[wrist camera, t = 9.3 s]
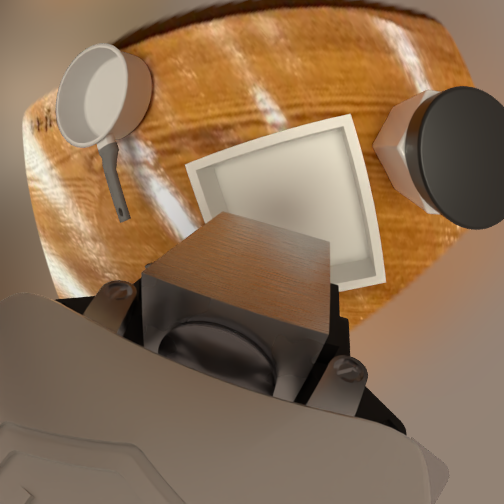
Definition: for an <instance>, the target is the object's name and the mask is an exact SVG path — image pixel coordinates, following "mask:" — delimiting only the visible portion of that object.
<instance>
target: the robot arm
mask: <svg viewBox="0 0 504 504" xmlns="http://www.w3.org/2000/svg"><path fill="white" fill-rule="evenodd" d="M367 378H368V373H367V369H366V368H365V366H364V365H363V364H362V363H361V362H360V361H359V360H357V359H355V358H353V357H350V341H349V321H348V319H347V318H343V317H340V315H339V286H338V285H336V284H332V283H330V318H329V335H328V337H327V339H326V341H325V343H324V345H323V347H322V349H321V351H320V353H319V355H318V357H317V359H316V361H315V363H314V365H313V367H312V369H311V371H310V373H309V374H308V376H307V378H306V380H305V382H304V384H303V386H302V387H301V389H300V391H299V393H298V394H297V396H296V398H295V400H294V401H293V402H292V401H288V400H284V399H281V398H277V397H274V396H271V395H267V394H264V393H261V392H257V391H254V390H251V389H248V388H245V387H242V386H239V385H236V384H233V383H230V382H228V381H225V380H222V379H219V378H216V377H214V376H211V375H208V374H206V373H203V372H201V371H198V370H195V369H193V368H190V367H188V366H186V365H183V364H181V363H178V362H176V361H174V360H171V359H169V358H167V357H164V356H162V355H160V354H158V353H155V352H153V351H151V350H149V349H147V348H145V347H144V337H143V319H142V277H141V278H140V279H139V280H138V281H137V282H135V283H134V284H131V283H129V282H126V281H120V280H117V281H111V282H108V283H106V284H104V285H103V286H102V287H101V289H100V290H99V292H98V293H97V294H96V296H91V297H79V298H67V299H57V300H52V299H50V298H47V297H44V296H41V295H37V294H32V293H17V294H14V295H11V296H9V297H7V298H6V299H4V300H2V301H0V504H435V502H436V500H437V499H438V497H439V495H440V494H441V492H442V490H443V489H444V487H445V485H446V483H447V482H448V478H449V470H448V468H447V466H446V465H445V464H444V462H442V461H441V460H440V459H439V458H437V457H436V456H435V455H433V454H432V453H431V452H430V451H429V450H427V449H426V448H425V447H424V446H422V445H421V444H420V443H419V442H417V441H416V440H415V439H414V438H411V439H410V438H409V437H407V436H406V429H405V427H404V425H403V423H402V422H401V421H400V420H399V419H398V418H397V417H396V416H395V415H394V414H393V413H392V412H391V411H390V410H389V409H388V408H387V407H386V406H385V405H384V404H383V403H382V402H381V401H380V400H379V399H378V398H377V397H376V396H375V395H374V394H373V393H372V392H371V391H370V390H369V389H368V388H366V386H365V385H366V382H367Z"/></svg>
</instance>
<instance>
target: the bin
mask: <svg viewBox="0 0 504 504" xmlns="http://www.w3.org/2000/svg"><path fill="white" fill-rule="evenodd" d="M185 167H186V170H187V173H188V176H189V179H190V182H191V185H192V187H193V190H194V193H195V196H196V199H197V202H198V205H199V208H200V211H201V213H202V216H203V219H204V222H205V224H206V223H207V222H209V221H210V220H211V219H213V218H214V217H216V216H217V215H218V214H220V213H221V212H222V211H224V212H227V213H231V214H235V215H238V216H242V217H246V218H249V219H253V220H256V221H260V222H264V223H267V224H271V225H274V226H278V227H281V228H285V229H288V230H291V231H295V232H298V233H302V234H305V235H308V236H312V237H315V238H319V239H322V240H325V241H328V242H330V283H332V284H336V285H338V286H339V292H340V291H345V290H350V289H355V288H361V287H366V286H371V285H375V284H380V283H385V282H386V278H385V269H384V262H383V254H382V247H381V241H380V235H379V229H378V223H377V217H376V212H375V207H374V202H373V197H372V193H371V188H370V184H369V179H368V175H367V171H366V167H365V163H364V159H363V155H362V151H361V148H360V144H359V140H358V137H357V134H356V130H355V127H354V124H353V120H352V117H351V114H348V115H343V116H339V117H334V118H330V119H326V120H322V121H318V122H314V123H310V124H306V125H302V126H298V127H295V128H291V129H288V130H284V131H281V132H277V133H274V134H271V135H267V136H264V137H261V138H258V139H255V140H251V141H248V142H245V143H242V144H239V145H236V146H234V147H231V148H228V149H225V150H222V151H219V152H217V153H214V154H211V155H208V156H206V157H203V158H201V159H198V160H195V161H193V162H190V163H188V164H185Z"/></svg>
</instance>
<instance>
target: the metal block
mask: <svg viewBox="0 0 504 504" xmlns="http://www.w3.org/2000/svg"><path fill="white" fill-rule="evenodd" d="M329 318H330V242H328V241H325V240H322V239H319V238H315V237H312V236H308V235H305V234H302V233H298V232H295V231H291V230H288V229H285V228H281V227H278V226H274V225H271V224H267V223H264V222H260V221H256V220H253V219H249V218H246V217H242V216H238V215H235V214H231V213H227V212H224V211H222V212H221V213H220V214H218V215H217V216H216V217H214V218H213V219H211V220H210V221H209V222H207V223H206V224H205V225H203V226H202V227H200V228H199V229H198V230H196V231H195V232H194V233H192V234H191V235H190V236H188V237H187V238H186V239H184V240H183V241H182V242H180V243H179V244H178V245H176V246H175V247H174V248H172V249H171V250H170V251H168V252H167V253H166V254H165V255H163V256H162V257H161V258H159V259H158V260H157V261H155V262H154V263H153V264H152V265H150V266H149V267H148V268H147V269H145V270H144V271H143V272H142V319H143V337H144V347H145V348H147V349H149V350H151V351H153V352H155V353H158V354H160V355H162V356H164V357H167V358H169V359H171V360H174V361H176V362H178V363H181V364H183V365H186V366H188V367H190V368H193V369H195V370H198V371H201V372H203V373H206V374H208V375H211V376H214V377H216V378H219V379H222V380H225V381H228V382H230V383H233V384H236V385H239V386H242V387H245V388H248V389H251V390H254V391H257V392H261V393H264V394H267V395H271V396H274V397H277V398H281V399H284V400H288V401H292V402H293V401H294V400H295V398H296V396H297V394H298V393H299V391H300V389H301V387H302V386H303V384H304V382H305V380H306V378H307V376H308V374H309V373H310V371H311V369H312V367H313V365H314V363H315V361H316V359H317V357H318V355H319V353H320V351H321V349H322V347H323V345H324V343H325V341H326V339H327V337H328V335H329Z"/></svg>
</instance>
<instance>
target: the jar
mask: <svg viewBox="0 0 504 504" xmlns="http://www.w3.org/2000/svg"><path fill="white" fill-rule="evenodd" d="M372 147H373V149H374V151H375V153H376V154H377V156H378V158H379V160H380V162H381V163H382V165H383V167H384V169H385V171H386V173H387V175H388V177H389V179H390V181H391V183H392V185H393V187H394V189H395V190H397V191H398V192H400V193H401V194H402V195H404V196H405V197H407V198H408V199H409V200H411V201H412V202H413V203H415V204H416V205H418V206H419V207H420V208H422V209H423V210H424V211H426V212H427V213H429V214H441V215H443V216H444V217H445V218H447V219H448V220H450V221H451V222H453V223H454V224H456V225H458V226H461V227H463V228H467V229H475V230H477V229H478V230H479V229H486V228H489V227H492V226H494V225H496V224H498V223H499V222H501V221H502V220H503V219H504V107H503V106H502V105H501V104H500V103H499V102H498V101H497V100H496V99H495V98H494V97H492V96H491V95H489V94H488V93H486V92H484V91H482V90H479V89H477V88H473V87H467V86H459V87H453V88H450V89H447V90H445V91H442V92H438V91H433V90H425V91H423V92H421V93H419V94H417V95H415V96H413V97H411V98H409V99H407V100H405V101H403V102H401V103H399V104H398V105H396V106H394V107H393V108H392V110H391V112H390V114H389V115H388V117H387V119H386V121H385V123H384V125H383V127H382V129H381V130H380V132H379V134H378V136H377V138H376V139H375V141H374V143H373V145H372Z"/></svg>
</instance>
